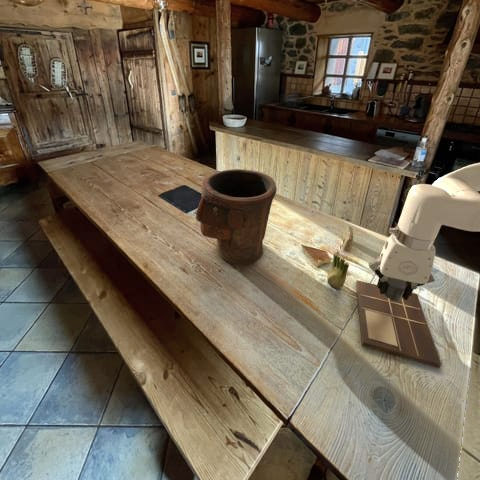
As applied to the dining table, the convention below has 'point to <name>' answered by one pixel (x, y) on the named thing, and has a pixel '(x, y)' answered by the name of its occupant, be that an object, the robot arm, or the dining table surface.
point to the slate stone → (395, 289)
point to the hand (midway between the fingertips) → (392, 292)
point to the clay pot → (236, 213)
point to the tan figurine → (347, 239)
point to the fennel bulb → (337, 272)
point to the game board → (395, 325)
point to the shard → (317, 255)
